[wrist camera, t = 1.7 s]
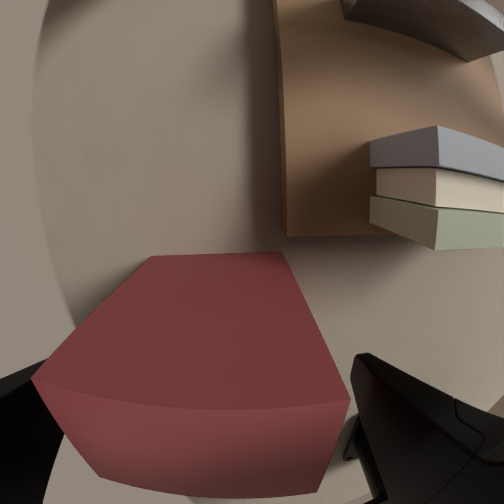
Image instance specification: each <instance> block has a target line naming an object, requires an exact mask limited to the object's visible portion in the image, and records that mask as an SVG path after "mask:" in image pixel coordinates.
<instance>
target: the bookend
mask: <svg viewBox="0 0 504 504" xmlns="http://www.w3.org/2000/svg"><path fill="white" fill-rule="evenodd" d="M340 3H341V7H342V12H343V17H344V20H349V21H354V22H358V23H363V24H367V25H371V26H375V27H378V28H382V29H385V30H389V31H392V32H395V33H398V34H402V35H405V36H407V37H410V38H413V39H416V40H419V41H421V42H424V43H426V44H429V45H431V46H434V47H436V48H438V49H441V50H443V51H445V52H447V53H449V54H452V55H454V56H456V57H458V58H460V59H462V60H464V61H466V62H468V63H469V62H472V61H474V60H477V59H480V58H483V57H485V56H488V55H491V54H494V53H497V52H500V51H503V50H504V16H503V15H502V14H501V13H500V12H498V11H497V10H496V9H494V8H493V7H492V6H490V5H489V4H488V3H486V2H485V1H484V0H340Z"/></svg>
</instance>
